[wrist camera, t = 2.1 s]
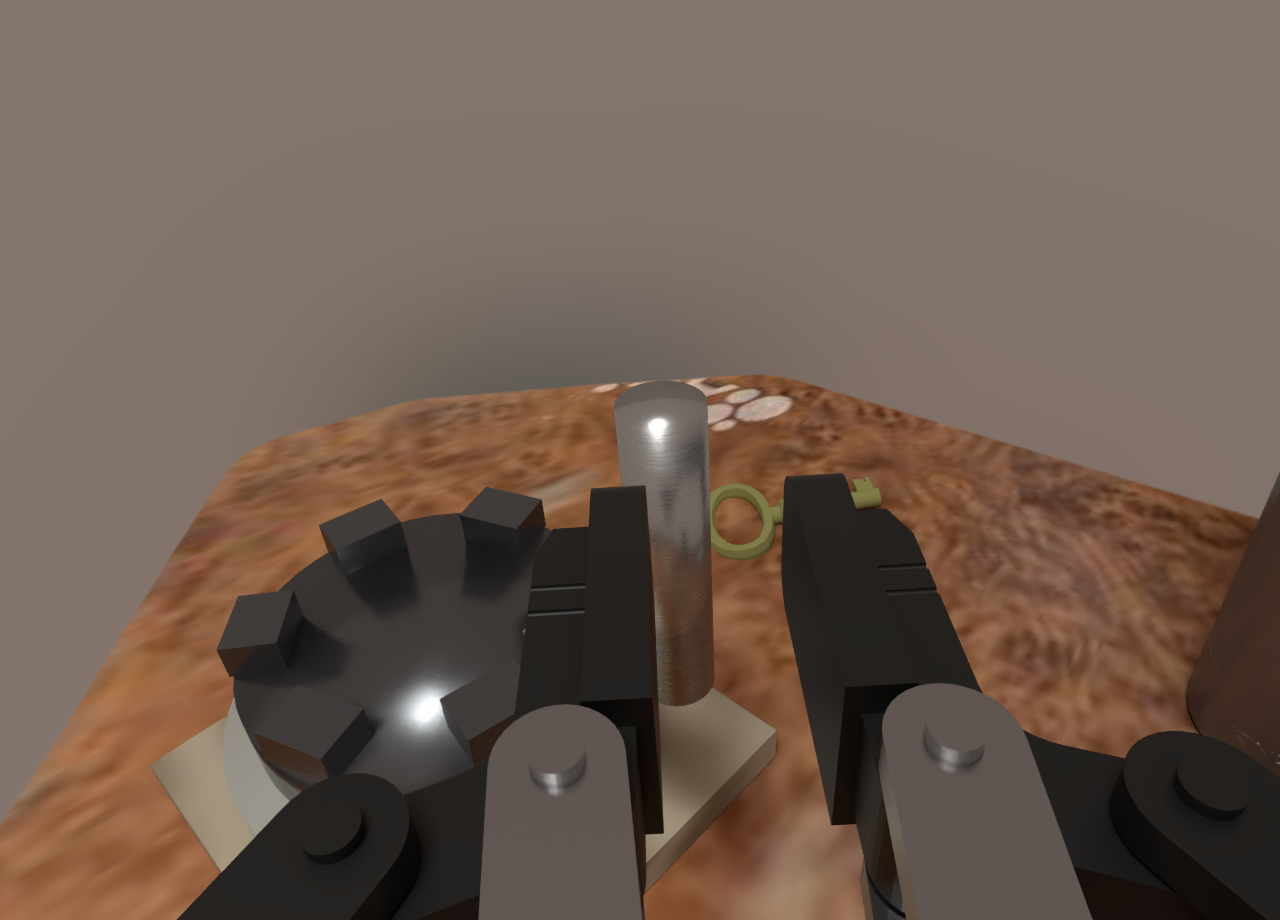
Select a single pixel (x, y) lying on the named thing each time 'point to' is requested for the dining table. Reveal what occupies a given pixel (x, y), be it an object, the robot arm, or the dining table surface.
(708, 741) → the base board
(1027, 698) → the dining table surface
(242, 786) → the cap housing
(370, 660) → the cap with crank handle
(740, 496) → the key
